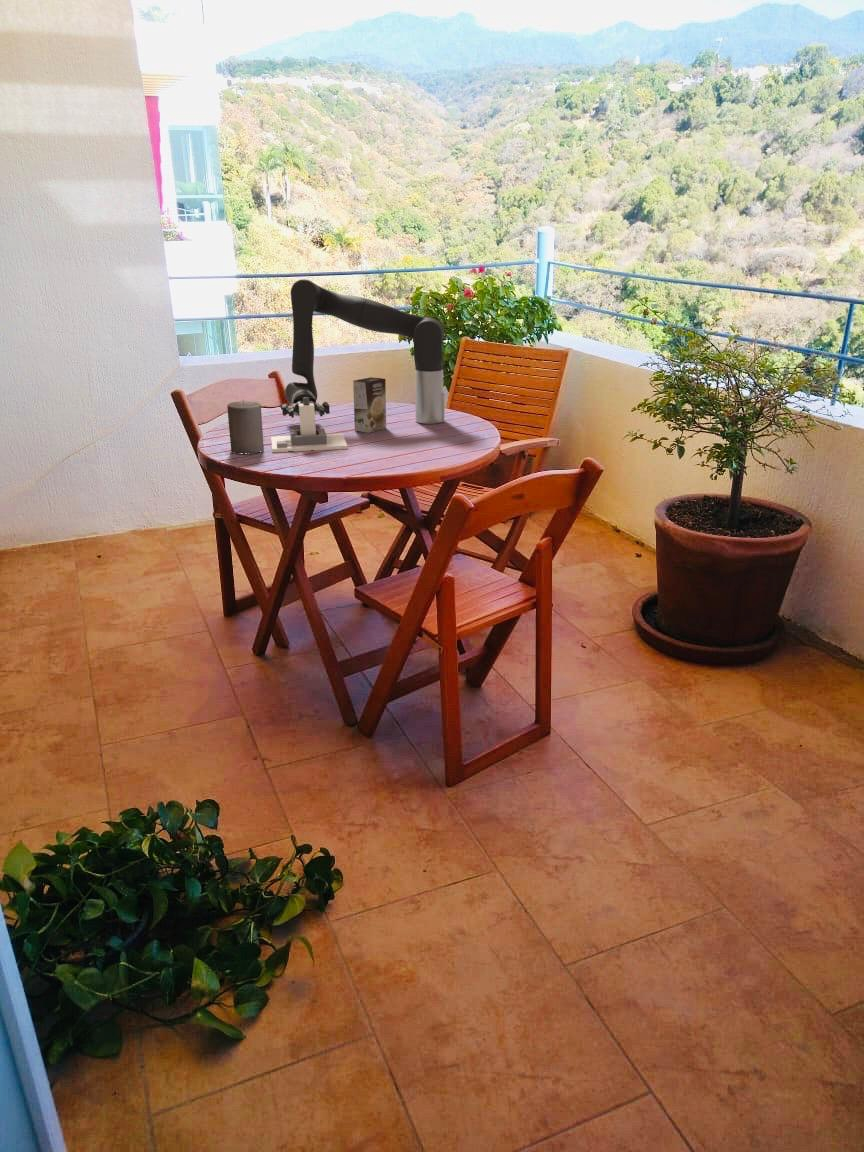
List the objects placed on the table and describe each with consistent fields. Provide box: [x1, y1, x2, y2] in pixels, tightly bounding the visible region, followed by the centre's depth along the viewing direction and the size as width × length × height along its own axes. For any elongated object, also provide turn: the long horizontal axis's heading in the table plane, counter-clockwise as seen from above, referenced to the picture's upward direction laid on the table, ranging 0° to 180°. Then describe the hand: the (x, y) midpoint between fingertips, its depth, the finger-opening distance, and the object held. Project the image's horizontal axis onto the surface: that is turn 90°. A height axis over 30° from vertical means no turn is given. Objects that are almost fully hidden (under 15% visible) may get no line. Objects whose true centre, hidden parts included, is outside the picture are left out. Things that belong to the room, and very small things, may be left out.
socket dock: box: [270, 427, 348, 453], centre depth 252 cm, size 22×16×4 cm
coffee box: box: [352, 376, 387, 434], centre depth 268 cm, size 9×6×16 cm
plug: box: [298, 397, 317, 435], centre depth 250 cm, size 4×4×13 cm
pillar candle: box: [226, 399, 265, 455], centre depth 243 cm, size 10×10×15 cm
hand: (307, 413), depth 248 cm, fingers open, 8 cm apart
